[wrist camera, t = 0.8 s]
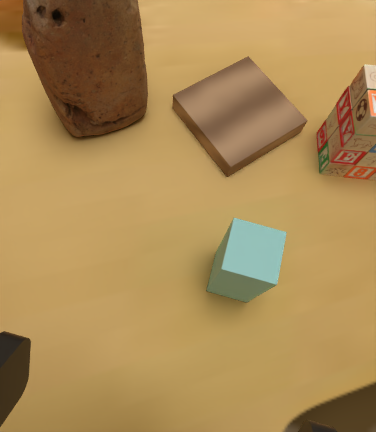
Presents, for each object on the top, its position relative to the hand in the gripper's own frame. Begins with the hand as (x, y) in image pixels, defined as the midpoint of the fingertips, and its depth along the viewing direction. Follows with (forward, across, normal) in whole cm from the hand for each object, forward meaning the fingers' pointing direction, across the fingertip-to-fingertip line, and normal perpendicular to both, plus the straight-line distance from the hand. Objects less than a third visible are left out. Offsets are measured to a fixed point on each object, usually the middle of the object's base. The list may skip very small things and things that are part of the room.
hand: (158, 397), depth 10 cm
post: (+27, -4, +11) cm, 29 cm away
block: (+38, +16, 0) cm, 41 cm away
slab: (+41, -1, -3) cm, 41 cm away
